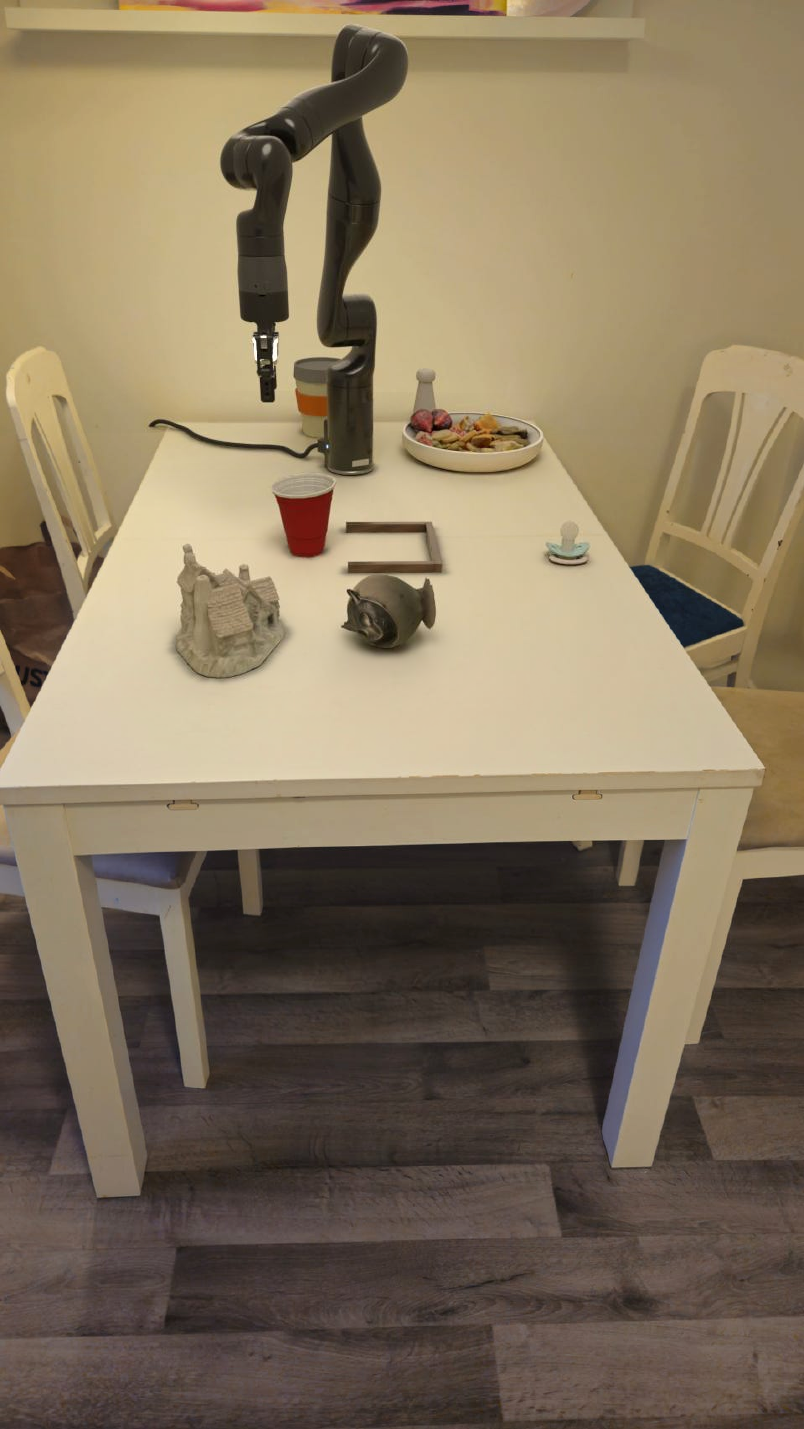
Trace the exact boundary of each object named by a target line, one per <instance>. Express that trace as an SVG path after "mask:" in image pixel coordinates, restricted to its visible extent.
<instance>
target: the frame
mask: <svg viewBox="0 0 804 1429" xmlns="http://www.w3.org/2000/svg"><path fill="white" fill-rule="evenodd" d="M434 529H435V528H434V525H433V521H345V532H346V533H425V536H426V541H427V545H428V549H429V554H430V558H431V560H412V561H411V560H399V561H398V560H397V561H396V560H393V561H391V560H389V561H388V560H387V561H386V560H384V561H382V560H381V561H379V560H378V561H377V560H376V561H375V560H374V561H373V560H372V561H368V560H367V561H347V573H348V574H384V573H387V574H388V573H389V574H391V573H392V574H393V573H394V574H395V573H396V574H397V573H401V574H402V573H442V572H443V561H442V558H441V553H440V550H439V546H438V542H437V538H436V533H435V530H434Z"/></svg>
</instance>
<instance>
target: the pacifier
mask: <svg viewBox="0 0 804 1429" xmlns="http://www.w3.org/2000/svg"><path fill="white" fill-rule="evenodd" d="M578 535H579V526H578V524H577V523H576V522H575V521H574V520H567V521H565V522H564V523H562V525H561V526H560V537H561V545H559V544H556V543H553V542H549V541H546V542H545V546H546V548H547V549H548V550H549V551H551V552H552V553H553V554H550V555H549V557H548V558H549V560H550V561H551V562H553V563H556V564H562V565H580V564H584V563H585V562H587V561H588V559H589V558H588V556H586V555H584V554H585V553H587V552H588V551H589V550H590V547H591V545H590V542H587V541H584V542H578V543H575V542H576V541H575V540H576V538H577V537H578Z"/></svg>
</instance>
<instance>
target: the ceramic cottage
mask: <svg viewBox="0 0 804 1429" xmlns="http://www.w3.org/2000/svg"><path fill="white" fill-rule="evenodd" d="M182 550H183V554H184V555H183V564H184V565H183V566H184V567H183V569H182V570H181V571H180V573H179V574H178V576H177V580H176V583H177V585H178V586H179V588H180V594H181V599H182V602H181V604H180V608H181V609H180V618H179V619H180V624H181V625H180V626H181V627H180V629H179V631H178V634H177V637H176V644H175V646H176V648H175V650H176V651H177V652H178V653H179V656H181V657H182V658H183V659H184V660H185V662H186V663H187V664H188V665H189V667H190V668H191V669H192V670H193V671H195V673H196V674H199V675H201V676H204V677H207V678H217V679H220V678H222V679H223V678H231V677H235V676H238V675H242V674H246V673H247V672H250V671H251V670H254V669H256V668H257V667H260V666H262V664H263V663H264V661H265V660H266V659H267V658H268V656H270V655H271V653H272V651H274V649H275V648H276V647H277V646H278V645H279V644H280V642H282V640H283V639H284V638H285V635H286V630H285V627H284V625H283V623H282V622H281V621H279V617H280V608H281V605H280V602H279V601H280V598H279V597H280V596H279V594H278V591H277V588H276V585H275V582H274V580H273V579H272V577H271V576H266V577H261V578H258V579H251V575H250V567H249V565H248V564H245V563H242V564H240V565H239V566H238V568H239V569H238V576H237V575H236V574H235V573H233V572H232V571H231V570H230V569H228V568H226V567H225V568H224V569H223V571H222V573H217V574H216V573H215V572H213V571H211V570H210V569H208V568H207V567H206V566H203V565H201V564H200V563H199V562H197V558H196V554H195V553H194V551H193V547H192V545H191V544H190V543H185V544H184V545H182Z"/></svg>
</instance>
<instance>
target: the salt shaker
mask: <svg viewBox="0 0 804 1429" xmlns="http://www.w3.org/2000/svg"><path fill="white" fill-rule="evenodd" d="M436 375H437V374H436V372H435V370H434V369H432V368H420V369H418V370H417V371H416V374H415V377H416V381H418V383H417V388H416V393H415V399H414V404H413V409H412V415H413V414H414V413H415V412H416V411H418V410H420V409H426V410H428V411H430V412H432V411H433V410H435V409H437V406H436V400H435V393H434V386H433V382H434V381H435V380H436ZM412 415H411V416H412Z"/></svg>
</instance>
